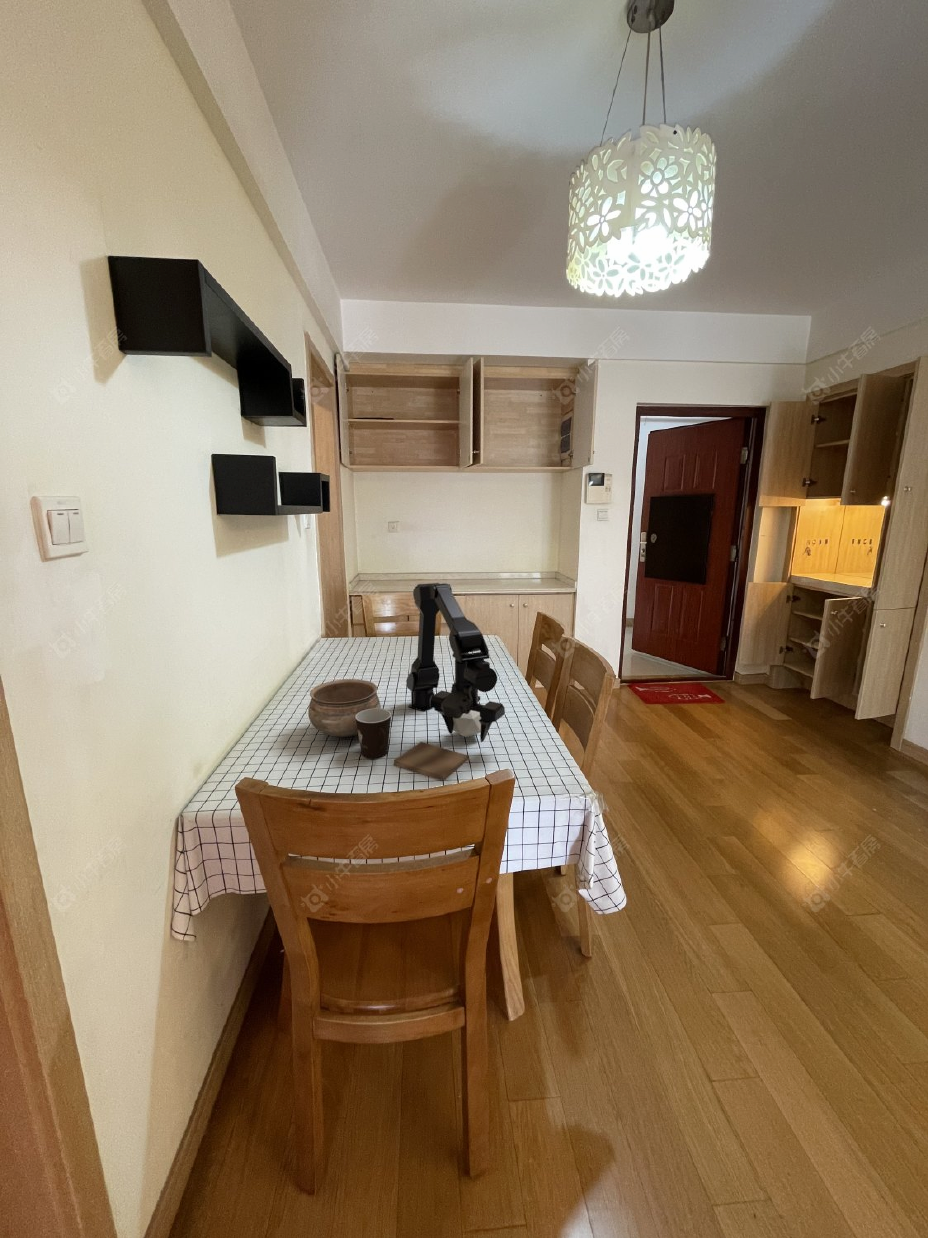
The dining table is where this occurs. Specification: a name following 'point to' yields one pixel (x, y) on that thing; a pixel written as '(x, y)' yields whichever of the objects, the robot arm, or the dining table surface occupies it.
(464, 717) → the die
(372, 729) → the coffee mug
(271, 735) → the dining table surface
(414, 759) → the board
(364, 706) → the cooking pot
